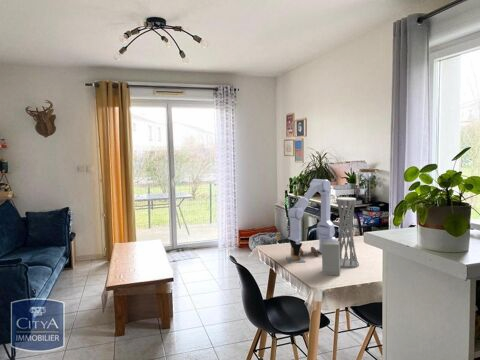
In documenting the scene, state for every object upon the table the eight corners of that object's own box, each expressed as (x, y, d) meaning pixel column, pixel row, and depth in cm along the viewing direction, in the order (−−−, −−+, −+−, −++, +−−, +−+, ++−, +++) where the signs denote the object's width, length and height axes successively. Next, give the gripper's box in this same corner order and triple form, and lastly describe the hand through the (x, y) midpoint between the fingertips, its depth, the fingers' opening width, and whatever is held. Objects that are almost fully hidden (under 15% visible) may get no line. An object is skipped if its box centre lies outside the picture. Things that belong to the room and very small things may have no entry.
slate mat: (301, 257, 199) (301, 256, 199) (305, 262, 190) (305, 261, 190) (285, 257, 199) (285, 257, 199) (288, 262, 190) (288, 261, 190)
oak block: (298, 257, 197) (298, 247, 196) (300, 260, 192) (300, 249, 192) (290, 258, 197) (290, 247, 196) (292, 260, 192) (292, 249, 192)
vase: (351, 259, 194) (352, 196, 192) (363, 267, 181) (365, 199, 178) (328, 261, 192) (328, 197, 189) (339, 268, 179) (339, 200, 176)
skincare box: (340, 272, 174) (340, 240, 173) (339, 276, 167) (339, 244, 166) (322, 270, 177) (323, 239, 176) (321, 275, 170) (321, 242, 169)
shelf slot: (313, 251, 210) (313, 246, 210) (317, 256, 200) (317, 251, 200) (297, 252, 210) (297, 247, 210) (301, 257, 200) (301, 251, 200)
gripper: (285, 226, 200) (286, 250, 201) (290, 232, 186) (290, 257, 187) (298, 226, 201) (298, 250, 202) (303, 232, 186) (303, 257, 187)
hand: (295, 253), depth 194 cm, fingers open, 5 cm apart
